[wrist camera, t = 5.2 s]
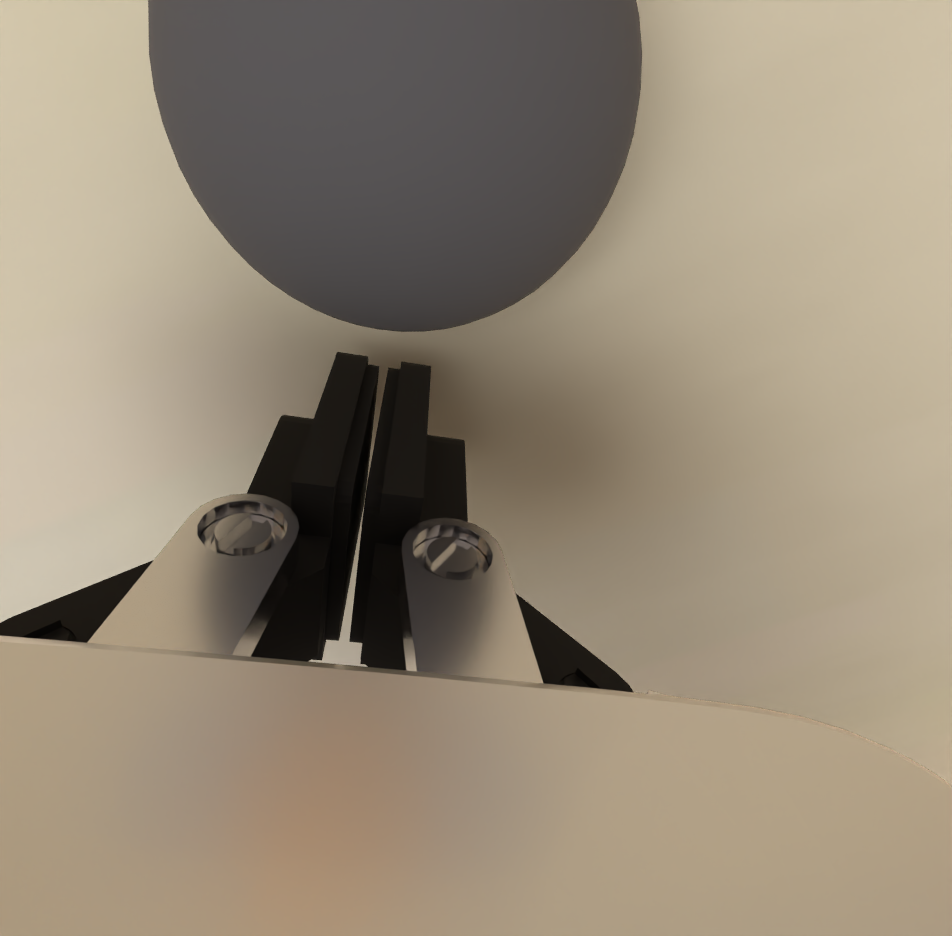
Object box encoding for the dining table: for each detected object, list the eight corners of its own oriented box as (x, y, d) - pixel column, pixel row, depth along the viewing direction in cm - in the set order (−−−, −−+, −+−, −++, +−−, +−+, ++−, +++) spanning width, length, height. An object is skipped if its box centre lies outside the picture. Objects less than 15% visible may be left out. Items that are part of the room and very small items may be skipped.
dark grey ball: (711, 357, 7) (638, 142, 11) (627, -468, 3) (557, -373, 7) (288, 459, 9) (348, 241, 12) (-133, -3, 5) (141, -127, 8)
